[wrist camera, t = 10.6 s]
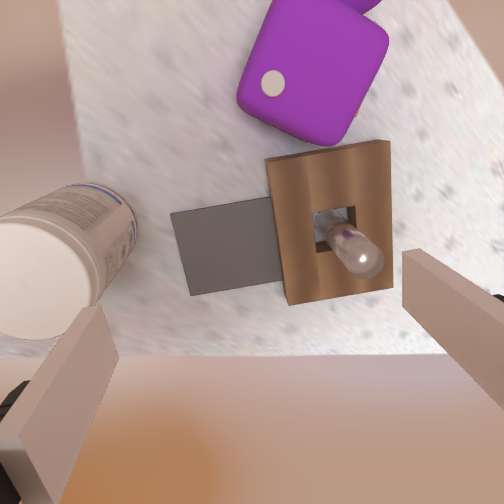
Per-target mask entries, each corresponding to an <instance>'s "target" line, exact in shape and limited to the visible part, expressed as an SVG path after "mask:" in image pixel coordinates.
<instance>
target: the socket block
mask: <svg viewBox="0 0 504 504" xmlns="http://www.w3.org/2000/svg"><path fill="white" fill-rule="evenodd" d="M265 162H266V169H267V176H268V183H269V190H270V196H271V201H272V208H273V215H274V222H275V229H276V236H277V243H278V250H279V257H280V264H281V271H282V277H283V286H284V293H285V297H286V300H287V303H288V306H291V305H296V304H302V303H308V302H314V301H319V300H325V299H331V298H337V297H343V296H348V295H354V294H360V293H366V292H371V291H377V290H383V289H389V288H393V247H392V199H391V152H390V141H385V140H373V141H367V142H361V143H355V144H350V145H344V146H338V147H332V148H326V149H321V150H315V151H309V152H303V153H298V154H292V155H286V156H280V157H275V158H269V159H265ZM343 207H347V216H348V222H349V223H350V224H351V225H353V226H354V227H355V228H356V229H357V230H358V231H359V232H361V233H362V234H363V235H364V236H365V237H366V238H368V239H369V240H370V241H371V242H372V243H373V244H375V245H376V246H377V247H378V248H379V249H380V250H381V251H382V252H383V254H384V265H383V267H382V269H381V271H380V272H379V273H378V274H377V275H375V276H374V277H372V278H368V279H359V278H356V277H354V276H353V275H352V274H351V273H350V272H349V270H348V269H347V268H346V266H345V265H344V264H343V263H342V261H341V260H340V259H339V258H338V256H337V255H336V254H335V253H334V251H333V250H332V249H331V248H330V246H329V245H328V244H327V242H326V241H325V242H319V243H315V235H314V226H313V216H312V213H314V212H320V211H326V210H331V209H337V208H343Z"/></svg>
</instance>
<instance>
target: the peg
mask: <svg viewBox="0 0 504 504" xmlns="http://www.w3.org/2000/svg"><path fill="white" fill-rule="evenodd" d="M315 228H316V230H317V231H318V232H319V234H320V235H321V236H322V237H323V239H324V240H325V241H326V242H327V244H328V245H329V246H330V248H331V249H332V250H333V251H334V253H335V254H336V255H337V256H338V258H339V259H340V260H341V261H342V263H343V264H344V265H345V266H346V268H347V269H348V270H349V272H350V273H351V274H352V275H353V276H354V277H356V278H359V279H368V278H372V277H374V276H375V275H377V274H378V273H379V272H380V271H381V269H382V267H383V265H384V254H383V252H382V251H381V250H380V249H379V248H378V247H377V246H376V245H375V244H373V243H372V242H371V241H370V240H369V239H368V238H366V237H365V236H364V235H363V234H362V233H361V232H359V231H358V230H357V229H356V228H355V227H354V226H353V225H351V224H350V223H349V222H348V221H347V220H346V219H344V218H343V217H342V216H341V215H340V214H339V213H337V212H336V211H335V210H332V209H331V210H326V211H321V212H320V213H319V214H318V215H317V216H316V218H315Z"/></svg>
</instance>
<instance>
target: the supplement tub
mask: <svg viewBox="0 0 504 504" xmlns="http://www.w3.org/2000/svg"><path fill="white" fill-rule="evenodd" d="M136 235H137V227H136V222H135V218H134V216H133V213H132V211H131V209H130V208H129V206H128V205H127V204H126V203H125V202H124V200H123V199H121V198H120V197H119V196H118V195H117V194H115V193H114V192H112V191H111V190H109V189H107V188H105V187H102V186H99V185H96V184H90V183H78V184H72V185H69V186H66V187H64V188H62V189H59V190H57V191H55V192H52V193H50V194H48V195H46V196H44V197H41V198H39V199H37V200H35V201H33V202H31V203H28V204H26V205H24V206H22V207H20V208H18V209H15V210H14V211H11V212H9V213H7V214H4V215H3V216H1V217H0V333H2V334H5V335H7V336H11V337H14V338H19V339H26V340H43V339H49V338H54V337H57V336H60V335H62V334H64V333H65V331H66V330H67V329H68V327H69V326H70V325H71V323H72V322H73V320H74V319H75V318H76V316H77V315H78V313H79V312H80V311H81V309H82V308H85V307H90V306H94V305H95V304H96V302H97V301H98V299H99V298H100V296H101V295H102V294H103V292H104V291H105V289H106V288H107V286H108V285H109V283H110V282H111V280H112V279H113V277H114V276H115V274H116V273H117V271H118V270H119V268H120V267H121V265H122V264H123V262H124V261H125V259H126V258H127V256H128V255H129V253H130V252H131V250H132V249H133V247H134V244H135V241H136Z"/></svg>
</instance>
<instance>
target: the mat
mask: <svg viewBox="0 0 504 504" xmlns="http://www.w3.org/2000/svg"><path fill="white" fill-rule="evenodd" d="M170 216H171V220H172V224H173V228H174V232H175V236H176V240H177V244H178V248H179V252H180V256H181V260H182V264H183V267H184V271H185V275H186V279H187V283H188V287H189V291H190V295H191V296H195V295H201V294H206V293H212V292H218V291H224V290H229V289H235V288H241V287H247V286H253V285H258V284H264V283H270V282H276V281H281V280H283V277H282V271H281V264H280V257H279V250H278V243H277V236H276V229H275V222H274V215H273V208H272V201H271V196H270V197H265V198H259V199H253V200H247V201H242V202H236V203H230V204H224V205H219V206H213V207H207V208H201V209H195V210H190V211H184V212H178V213H172V214H170Z"/></svg>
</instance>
